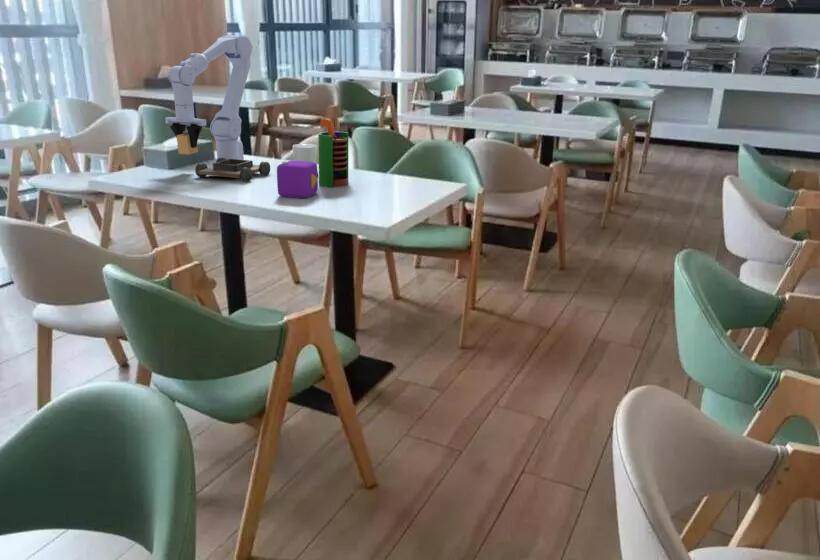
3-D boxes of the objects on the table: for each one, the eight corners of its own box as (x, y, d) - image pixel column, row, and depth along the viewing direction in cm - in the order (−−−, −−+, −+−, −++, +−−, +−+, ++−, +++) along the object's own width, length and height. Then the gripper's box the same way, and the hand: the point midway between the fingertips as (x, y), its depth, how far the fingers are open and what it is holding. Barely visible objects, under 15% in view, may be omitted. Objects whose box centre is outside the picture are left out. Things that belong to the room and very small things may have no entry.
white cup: (288, 176, 223) (287, 146, 219) (303, 172, 229) (302, 142, 226) (308, 179, 219) (307, 148, 216) (322, 175, 226) (321, 145, 222)
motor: (342, 188, 207) (341, 121, 200) (314, 186, 209) (312, 120, 202) (351, 182, 216) (351, 117, 210) (324, 180, 218) (323, 116, 211)
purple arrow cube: (323, 189, 205) (322, 156, 202) (312, 200, 193) (311, 164, 189) (288, 188, 206) (286, 155, 203) (275, 198, 193) (273, 163, 190)
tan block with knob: (188, 151, 228) (185, 130, 225) (198, 152, 226) (196, 130, 224) (178, 153, 223) (176, 132, 221) (188, 154, 222) (186, 132, 220)
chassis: (224, 169, 232) (223, 156, 230) (271, 174, 226) (270, 160, 224) (195, 178, 218) (194, 163, 216) (244, 183, 212) (243, 168, 210)
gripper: (157, 104, 218) (162, 147, 223) (195, 106, 214) (199, 150, 219) (171, 102, 225) (175, 144, 229) (208, 104, 220) (212, 147, 225)
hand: (188, 146), depth 224 cm, fingers closed on tan block with knob, 4 cm apart
